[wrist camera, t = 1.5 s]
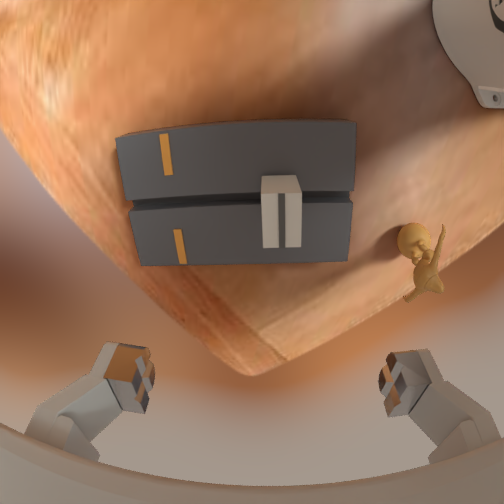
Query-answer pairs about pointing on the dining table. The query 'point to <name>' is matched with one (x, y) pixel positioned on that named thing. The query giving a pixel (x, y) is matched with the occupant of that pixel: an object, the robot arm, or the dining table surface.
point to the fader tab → (281, 211)
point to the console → (237, 189)
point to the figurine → (416, 246)
